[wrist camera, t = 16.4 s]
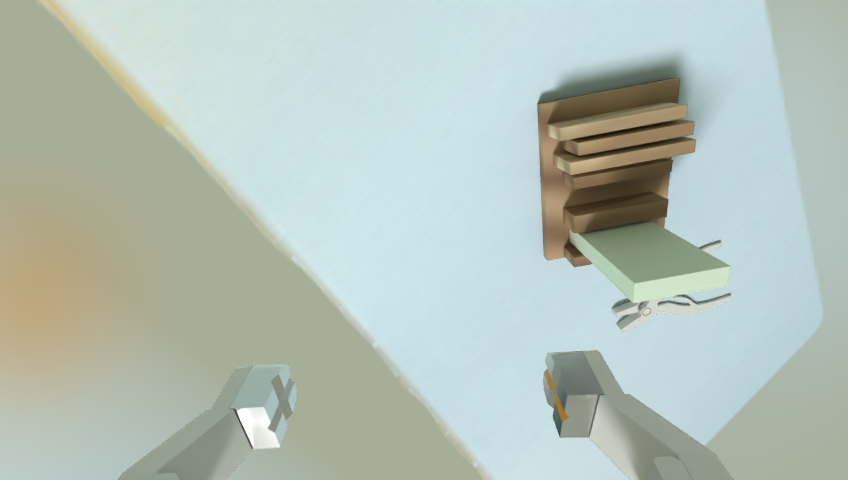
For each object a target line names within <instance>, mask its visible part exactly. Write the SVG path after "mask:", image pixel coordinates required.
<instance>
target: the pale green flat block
mask: <svg viewBox="0 0 848 480" xmlns="http://www.w3.org/2000/svg"><path fill="white" fill-rule="evenodd" d="M570 242H571V243H572V244H573V245H574V246H575V247H576V248H577V249H578V250H579V251H580V252H581V253H582V254H583V255H584V256H585V257H586V258H587V259H588V260H589V261H590V262H591V263H592V264H593V265H595V266H596V267H597V268H598V269H599V270H600V271H601V272H602V273H603V274H604V275H605V276H606V277H607V278H608V279H609V280H610V281H611V282H612V283H613V284H614V285H615V286H616V287H617V288H618V289H619V290H620V291H621V292H622V293H623V294H624V295H625V296H626V297H627V298H628V299H629V300H630V301H631V302H632V303H638V302H643V301H649V300H654V299H660V298H665V297H671V296H676V295H682V294H687V293H693V292H698V291H704V290H710V289H715V288H721V287H726V286H727V281H728V275H729V270H730V266H729V265H727V264H726V263H724V262H722V261H720V260H719V259H717V258H715V257H713V256H712V255H710V254H708V253H706V252H705V251H703V250H701V249H699V248H698V247H696V246H694V245H692V244H691V243H689V242H687V241H685V240H684V239H682V238H680V237H679V236H677V235H675V234H673V233H672V232H670V231H668V230H666V229H665V228H663V227H661V226H659V225H658V224H656V223H654V222H652V221H651V220H647V221H641V222H636V223H630V224H625V225H619V226H614V227H608V228H603V229H597V230H592V231H586V232H581V233H575V234H574V233H573V232H572V231H571V230H570Z"/></svg>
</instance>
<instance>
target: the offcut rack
mask: <svg viewBox="0 0 848 480" xmlns="http://www.w3.org/2000/svg"><path fill="white" fill-rule="evenodd" d="M679 84H680V78H671V79H666V80H661V81H655V82H650V83H645V84H640V85H634V86H629V87H624V88H618V89H613V90H608V91H603V92H597V93H592V94H587V95H581V96H576V97H571V98H566V99H560V100H555V101H550V102H544V103H539V104H537V107H538V130H539V153H540V177H541V200H542V223H543V246H544V257H545V258H546V259H547V261H548V260H553V259H559V258H564V257H566V258H567V259H568V261H569V262H570V263H571V264H572V265H573V266H574V267H578V266H584V265H590V264H592V263H591V262H590V261H589V260H588V259H587V258H586V257H585V256H584V255H583V254H582V253H581V252H580V251H579V250H578V249H577V248H576V247H575V246H574V245H573V244H572V243H571V242H570V230H571V231H572V232H573V233H574V234H575V233H581V232H586V231H592V230H597V229H603V228H608V227H614V226H619V225H625V224H630V223H636V222H641V221H647V220H651V221H652V222H654V223H656V224H658V225H659V226H661V227H663V228H664V224H665V217H667V207H668V199H667V196H668V187H669V177H670V172H671V171H672V161H673V160H671V158H672V156H677V155H683V154H688V153H693V152H695V145H696V140H695V139H691V138H686V137H683V136H688V135H693V130H694V123H695V122H693V121H687V120H680V119H682V118H686V114H687V106H688V104H677V102H678V93H679Z"/></svg>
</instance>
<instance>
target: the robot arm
mask: <svg viewBox="0 0 848 480" xmlns="http://www.w3.org/2000/svg"><path fill="white" fill-rule="evenodd" d="M545 362H546V365H547V368H548V369H547V370H546V371H545V372H544V377H543V384H544V391H545V396H546V399H547V402H548V404H549V405H550V406H551V407H553V408H554V411H553V420H554V422H555V425H556V428H557V431H558V434H559V437H560V438H562V437H589V439H590V440H591V441H592V442H593V443H594V444H595V445H596V446H597V447H598V448H599V449H600V450H601V451H602V452H603V453H604V454H605V455H606V456H607V458H608V459H609V460H610V461H611V462H612V463H613V464H614V465H615V466H616V467H617V468H618V469H619V470H620V471H621V472H622V473H623V474H624V475H625V476H626V477H627V478H628V479H629V480H734V479H733V478H732V477H731V475H730V474H729V472H728V471H727V469H726V468H725V467H724V465H723V464H722V463H721V461H720V460H719V458H718V457H717V455H716V454H715V453H713V452H712V451H711V450H709V449H708V448H706V447H705V446H703V445H702V444H701V443H699V442H698V441H696V440H695V439H693V438H692V437H690V436H689V435H688V434H686V433H685V432H683V431H682V430H680V429H679V428H677V427H676V426H675V425H673V424H672V423H670V422H669V421H667V420H666V419H665V418H663V417H662V416H660V415H659V414H657V413H656V412H654V411H653V410H652V409H650V408H649V407H647V406H646V405H644V404H643V403H642V402H640V401H639V400H637V399H636V398H634V397H633V396H631V395H630V394H624V393H623V391H622V389H621V388H620V386H619V384H618V382H617V381H616V379H615V377H614V376H613V374H612V372H611V370H610V369H609V367H608V365H607V363H606V362H605V360H604V358H603V357H602V355H601V353H600V352H599V351H597V350H594V351H573V352H554V353H548V354H547V355H546V361H545ZM290 374H291V370H290V368H289V365H286V364H275V365H274V364H272V365H271V364H270V365H239V366H238V367H237V368H236V369H235V370H234V372H233V373H232V375H231V377H230V378H229V380H228V382H227V383H226V386H225V387H224V388H223V390H222V392H221V394H220V395H219V397H218V399H217V400H216V402H215V404H214V406H213V407H212V409H211V410H206V411H204V412H203V413H202V414H201V415H199V416H198V417H196V418H195V419H194V420H193V421H191V422H190V423H189V424H187V425H186V426H185V427H183V428H182V429H181V430H179V431H178V432H177V433H175V434H174V435H173V436H171V437H170V438H169V439H167V440H166V441H165V442H163V443H162V444H161V445H159V446H158V447H157V448H155V449H154V450H153V451H151V452H150V453H149V454H147V455H146V456H145V457H144V458H142V459H141V460H139V461H138V462H137V463H135V464H134V465H133V466H132V467H130V468H129V469H127V470H126V471H125V472H123V473H122V475H121V476H120V477H119V479H118V480H226V479H227V478H228V477H229V476H230V475H231V474H232V473H233V472H234V470H235V469H236V468H237V467H238V466H239V465H240V464H241V463H242V462H243V461H244V460H245V458H246V457H247V456H248V455H249V454H250V453H251V452H252V449H262V448H278V447H281V444H282V441H283V439H284V436H285V433H286V430H287V428H288V425H287V423H286V419H287V418H288V417H289V416H290V415H291V414H292V413H293V411H294V408H295V405H296V398H297V392H296V386H295V383H294V382H293V381H292V380H291V379H289V377H290Z"/></svg>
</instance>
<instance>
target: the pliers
mask: <svg viewBox="0 0 848 480" xmlns="http://www.w3.org/2000/svg"><path fill="white" fill-rule="evenodd" d="M719 247H721V243H720V242H717V243H713V244H710V245H707V246H705V247H702V248H700V249H701V250H703V251H705V252H706V253H710V252H711V251H713V250H715V249H717V248H719ZM673 298H674V299H683V300H686V301H688V303H689V305H681V304H675V303H671V302H664V303H660V304H658V302H660V301H661V300H663V299H664V298H660V299H654V300H649V301H643V302H638V303H632V302H631V301H629V302H627V303H624V304H621V305H619V306H616V307H614V308H612V313H613V314H614V315H615V316H616V317H618V316H623V315H628V314H630V315H629V316H627V317H626V318H624V319H623V320H621V321H620V322H618V323H617V326H618V327H619V328H620V329H621V330H622V331H623V332H624V331H627V330H629V329H631V328H633V327H635V326H637V325H639V324H641V323H644V322H646V321H647V320H649V319H650V318H652V317H653V316H655V315H656V314H657V312H667V313H671V314H691V313H696V312H701V311H704V310H707V309H711V308H713V307H716V306H718V305H720V304H722V303H724V302H726V301H728V300H730V299H731V296H730V295H726V296H723V297H720V298H717V299H713V300H710V301H706V302H701V303H694V302H692V301H691V300H690V299H688V298H686V297H684V296H673Z"/></svg>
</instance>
